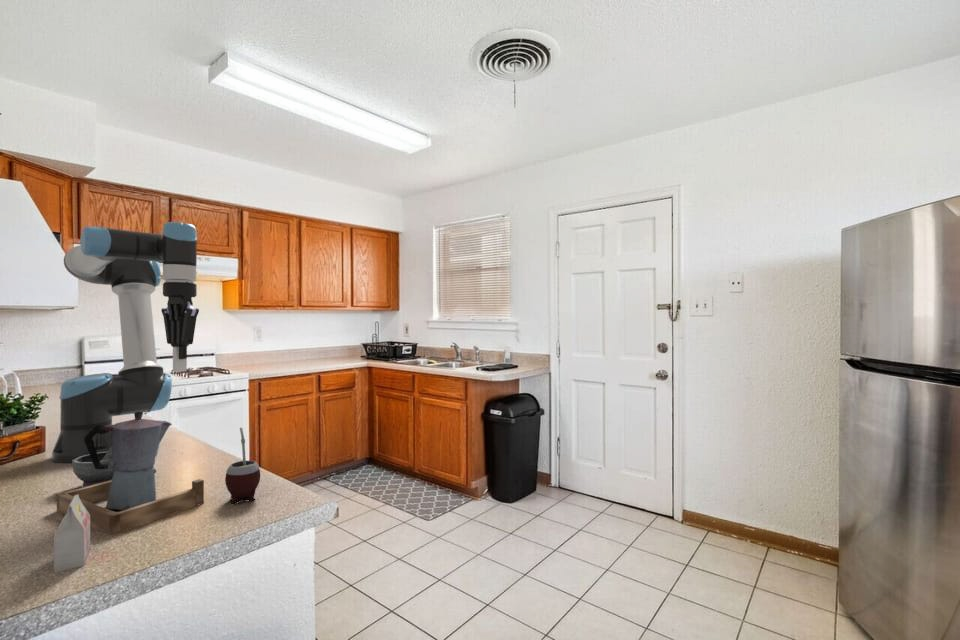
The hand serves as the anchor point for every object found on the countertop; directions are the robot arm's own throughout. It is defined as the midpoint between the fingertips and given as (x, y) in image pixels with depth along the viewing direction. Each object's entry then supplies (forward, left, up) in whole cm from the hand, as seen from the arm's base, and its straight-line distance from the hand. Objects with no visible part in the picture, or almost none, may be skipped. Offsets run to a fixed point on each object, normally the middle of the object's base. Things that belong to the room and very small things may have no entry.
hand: (179, 371), depth 124 cm
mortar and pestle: (+5, -15, -27) cm, 31 cm away
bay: (+24, -4, -26) cm, 36 cm away
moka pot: (+22, -5, -27) cm, 35 cm away
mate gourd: (+27, +17, -27) cm, 42 cm away
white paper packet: (+46, -7, -27) cm, 54 cm away
